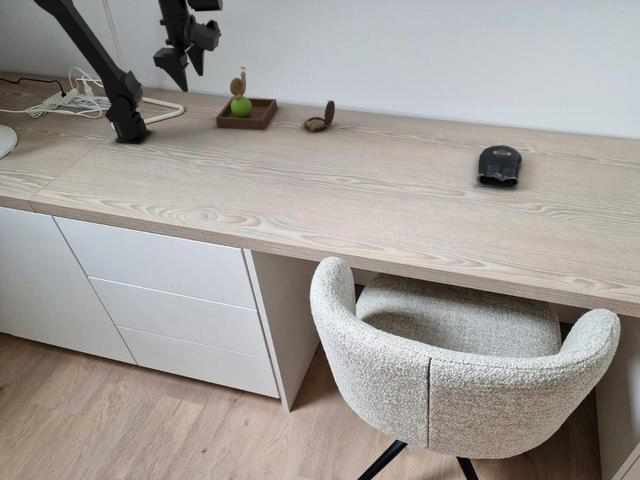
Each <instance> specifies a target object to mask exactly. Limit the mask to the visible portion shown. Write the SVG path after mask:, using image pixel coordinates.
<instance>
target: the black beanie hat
mask: <svg viewBox="0 0 640 480" xmlns="http://www.w3.org/2000/svg"><path fill="white" fill-rule="evenodd" d="M522 159H523V157H522V153H520V152H519V151H518V150H517V149H516V148H514V147H512V146H509V145H504V144H498V145H497V144H496V145H492V146H488V147H486V148H484V149H483V150H482V152H481V153H480V154H479V158H478V170H477V171H478V174H477V176H476V177H475V179H476V182H477V185H478V187H490V188H496V189H502V190H510V189H513V188H515V187H516V186H518V185H519V182H518V178H519V177H518V176H519V170H520V165H521V163H522V161H523V160H522Z"/></svg>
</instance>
